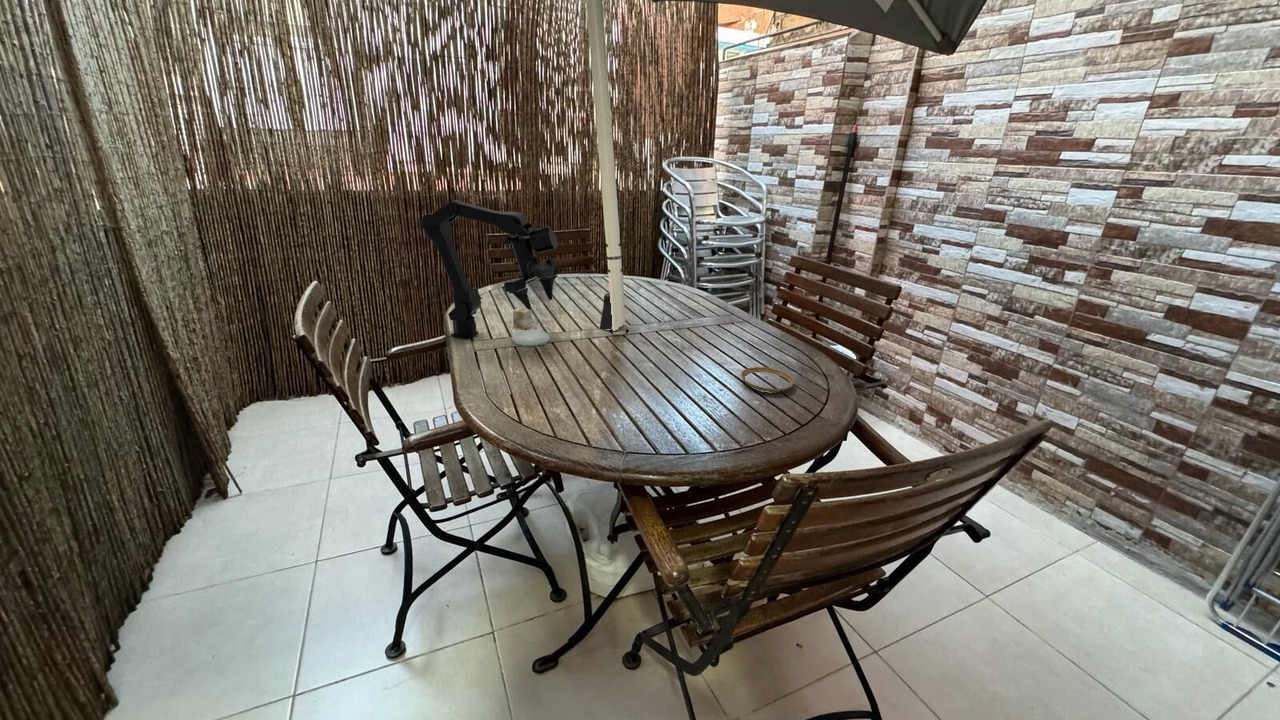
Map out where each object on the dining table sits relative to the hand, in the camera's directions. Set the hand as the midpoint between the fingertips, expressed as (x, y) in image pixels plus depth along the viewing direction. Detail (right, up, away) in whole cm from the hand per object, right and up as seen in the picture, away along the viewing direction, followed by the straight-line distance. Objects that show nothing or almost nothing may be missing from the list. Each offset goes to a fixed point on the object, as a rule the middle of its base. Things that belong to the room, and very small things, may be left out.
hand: (540, 304), depth 160 cm
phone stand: (+21, -6, +24) cm, 32 cm away
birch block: (-10, -6, +19) cm, 22 cm away
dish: (-5, -11, +8) cm, 14 cm away
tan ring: (+67, -25, -13) cm, 73 cm away
